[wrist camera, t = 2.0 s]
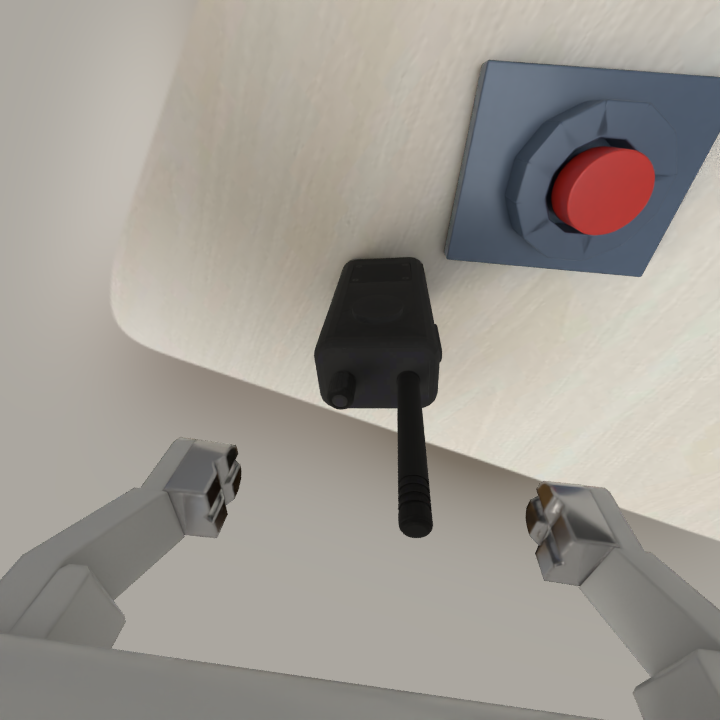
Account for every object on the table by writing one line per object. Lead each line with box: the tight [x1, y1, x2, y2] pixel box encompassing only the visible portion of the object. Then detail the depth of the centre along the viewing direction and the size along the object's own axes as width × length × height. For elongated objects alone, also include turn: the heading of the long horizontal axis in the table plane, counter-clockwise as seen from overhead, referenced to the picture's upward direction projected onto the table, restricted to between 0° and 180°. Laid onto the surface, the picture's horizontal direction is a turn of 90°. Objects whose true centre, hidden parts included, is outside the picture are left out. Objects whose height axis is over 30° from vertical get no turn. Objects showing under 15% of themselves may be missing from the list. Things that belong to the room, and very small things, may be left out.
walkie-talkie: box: [314, 258, 442, 538], centre depth 14 cm, size 5×3×15 cm
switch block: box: [444, 60, 720, 277], centre depth 16 cm, size 10×8×3 cm
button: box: [551, 146, 655, 235], centre depth 14 cm, size 3×3×2 cm
